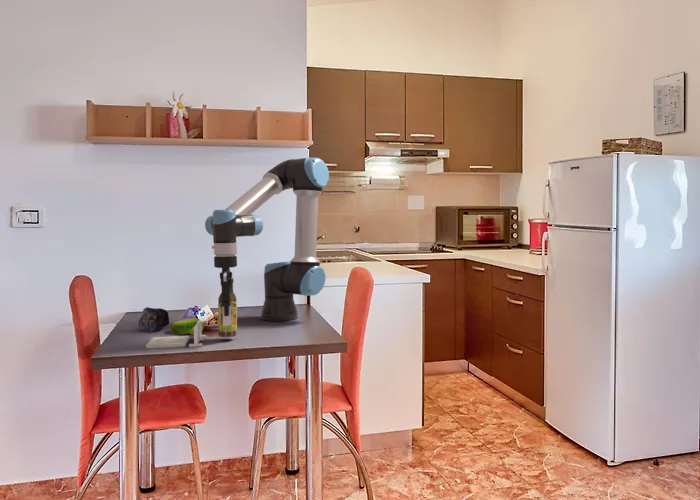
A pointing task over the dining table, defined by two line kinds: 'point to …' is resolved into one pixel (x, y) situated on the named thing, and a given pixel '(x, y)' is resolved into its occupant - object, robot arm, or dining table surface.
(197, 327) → the divider
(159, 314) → the rock
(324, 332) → the dining table surface
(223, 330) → the sauce bottle
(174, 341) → the pad
